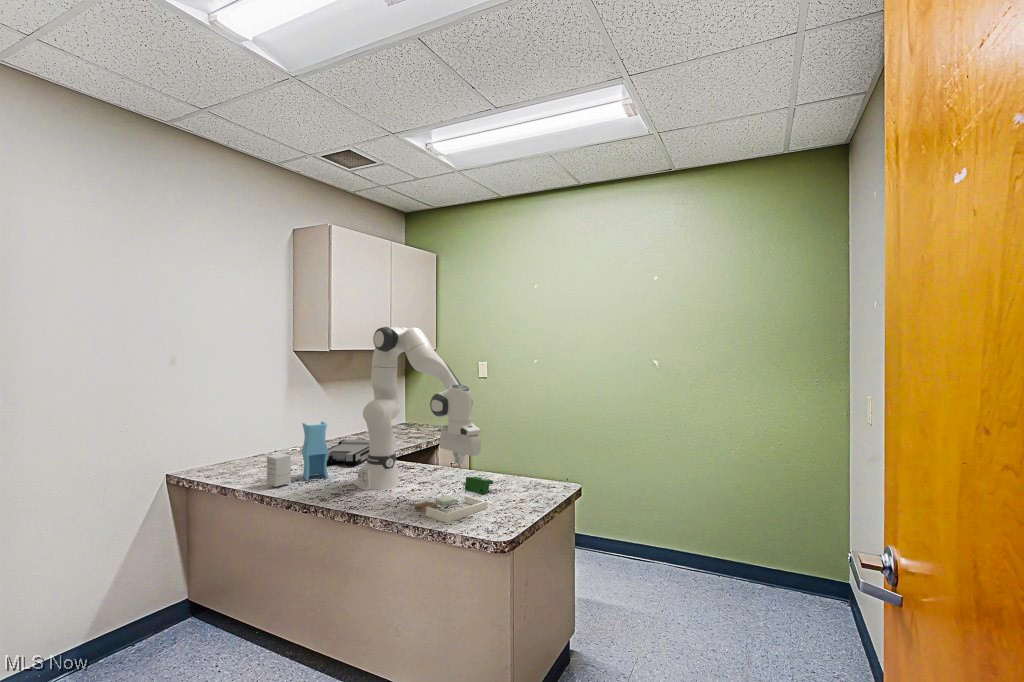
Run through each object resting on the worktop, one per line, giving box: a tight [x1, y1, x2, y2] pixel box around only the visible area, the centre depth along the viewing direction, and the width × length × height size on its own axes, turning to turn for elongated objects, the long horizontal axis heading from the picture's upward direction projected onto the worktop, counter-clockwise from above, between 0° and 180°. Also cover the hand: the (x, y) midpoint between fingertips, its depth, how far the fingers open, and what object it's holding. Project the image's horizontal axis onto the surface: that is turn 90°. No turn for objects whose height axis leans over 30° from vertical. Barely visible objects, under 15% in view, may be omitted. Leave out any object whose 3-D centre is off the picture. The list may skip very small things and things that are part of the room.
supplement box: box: [266, 452, 292, 487], centre depth 228 cm, size 7×7×13 cm
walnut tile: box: [414, 500, 438, 513], centre depth 194 cm, size 6×6×2 cm
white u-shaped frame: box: [425, 495, 488, 524], centre depth 189 cm, size 12×20×3 cm, turn 138°
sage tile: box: [435, 495, 458, 506], centre depth 201 cm, size 6×6×2 cm
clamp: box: [464, 476, 494, 495], centre depth 216 cm, size 12×6×9 cm, turn 44°
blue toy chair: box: [301, 421, 329, 481], centre depth 241 cm, size 10×10×25 cm
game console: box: [327, 439, 369, 467], centre depth 274 cm, size 21×32×8 cm, turn 174°
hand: (458, 463), depth 196 cm, fingers closed
